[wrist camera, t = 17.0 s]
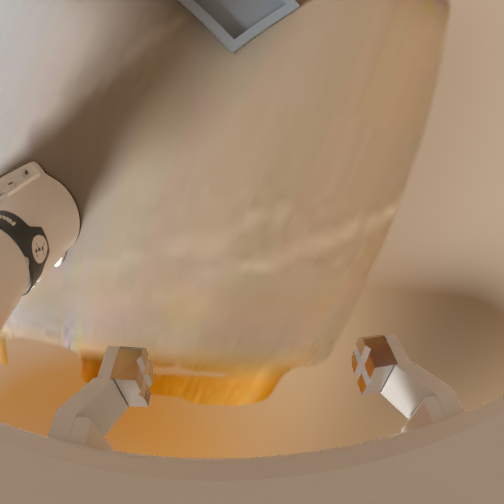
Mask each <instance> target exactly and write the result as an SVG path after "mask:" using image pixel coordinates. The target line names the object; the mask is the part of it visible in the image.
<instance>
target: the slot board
mask: <svg viewBox="0 0 504 504" xmlns="http://www.w3.org/2000/svg"><path fill="white" fill-rule="evenodd" d="M177 1H179V2H180V3H181V4H182V5H183V6H184V7H185V8H186V9H187V10H188V11H190V12H191V13H192V14H193V15H194V16H195V17H196V18H197V19H198V20H199V21H200V22H201V23H202V24H203V25H204V26H205V27H206V28H207V29H208V30H209V31H210V32H211V33H212V34H213V35H214V36H215V37H216V38H217V39H218V40H219V41H220V42H221V43H222V44H223V45H224V46H225V47H226V48H227V49H228V50H229V51H230V52H231V53H232V54H234V53H235V52H237V51H238V50H239V49H241V48H242V47H243V46H245V45H246V44H247V43H249V42H250V41H251V40H253V39H254V38H256V37H257V36H258V35H260V34H261V33H263V32H264V31H266V30H267V29H268V28H270V27H271V26H273V25H274V24H276V23H277V22H279V21H280V20H282V19H283V18H285V17H286V16H288V15H290V14H291V13H293V12H294V11H296V10H297V9H298V8H299V7H300V5H299V4H298V3H297V2H296V1H295V0H177Z"/></svg>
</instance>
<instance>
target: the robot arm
mask: <svg viewBox="0 0 504 504" xmlns="http://www.w3.org/2000/svg"><path fill="white" fill-rule="evenodd" d="M27 171H28V173H27ZM79 229H80V219H79V213H78V209H77V206H76V204H75V202H74V200H73V198H72V196H71V194H70V193H69V192H68V190H67V189H66V188H65V187H64V186H63V185H62V184H61V183H60V182H58V181H57V180H55V179H54V178H52V177H50V176H48V175H47V174H46V173H45V172H44V171H43V170H42V168H41V167H40V166H39V165H38V164H37V163H36V162H34V161H32V162H29V163H27V164H25V165H23V166H21V167H19V168H18V169H16V170H14V171H12V172H10V173H8V174H6V175H5V176H3V177H1V178H0V333H1V331H2V329H3V327H4V325H5V323H6V321H7V320H8V318H9V316H10V315H11V313H12V311H13V310H14V308H15V307H16V305H17V304H18V302H19V301H20V299H21V298H22V296H24V295H26V294H27V293H28V292H29V291H30V290H31V289H32V288H33V287H34V286H35V284H36V282H39V281H40V280H41V279H42V278H43V277H44V276H45V275H46V274H47V273H48V272H49V271H50V270H51V269H52V268H53V266H56V267H58V266H60V265H61V263H62V262H63V260H64V257H65V253H66V252H67V250H68V249H69V248H71V247H72V245H73V244H74V243H75V241H76V239H77V237H78V234H79ZM356 345H357V349H356V350H355V351H354V352H353V356H352V367H353V371H354V374H356V375H357V376H358V377H359V380H358V386H359V388H360V391H361V394H362V395H366V394H372V393H378V392H381V394H382V395H383V396H384V397H386V399H388V400H389V401H390V402H391V403H392V404H393V405H394V406H395V407H396V408H397V409H398V410H399V411H401V412H402V413H403V414H404V415H405V416H406V417H407V418H408V419H409V420H408V421H407V422H406V424H405V425H404V426H403V428H402V430H401V431H402V433H399V434H395V435H392V436H388V437H384V438H380V439H376V440H372V441H367V442H363V443H358V444H354V445H348V446H343V447H338V448H332V449H327V450H320V451H313V452H306V453H298V454H289V455H278V456H267V457H251V458H179V457H164V456H151V455H142V454H134V453H126V452H119V451H113V447H112V445H111V444H110V443H109V442H108V441H107V440H106V439H105V438H104V436H105V435H106V433H107V432H108V431H109V430H110V429H111V427H112V426H113V425H114V424H115V422H116V421H117V420H118V419H119V418H120V417H121V415H122V414H123V413H124V412H125V411H126V409H127V408H128V406H139V407H148V406H149V401H150V395H151V393H150V390H149V387H150V386H151V385H152V383H153V366H152V363H151V361H150V360H148V359H147V358H148V352H147V349H146V348H137V347H122V346H109V347H108V348H107V349H106V352H105V355H104V358H103V361H102V365H101V368H100V371H99V374H98V377H97V378H93V379H92V380H91V381H90V382H89V383H87V384H86V385H85V386H84V387H83V388H82V389H81V390H79V391H78V392H77V393H76V394H75V395H74V396H73V397H71V398H70V399H69V400H68V401H67V402H66V403H65V404H63V405H62V406H61V407H60V408H59V409H58V410H57V411H56V413H55V416H54V420H53V423H52V426H51V429H50V432H49V436H48V437H46V436H42V435H39V434H35V433H32V432H29V431H25V430H22V429H19V428H16V427H13V426H10V425H7V424H4V423H2V422H0V504H504V394H503V395H500V396H498V397H496V398H494V399H492V400H490V401H488V402H485V403H483V404H481V405H479V406H476V407H474V408H472V409H469V410H467V411H464V410H463V408H462V406H461V404H460V402H459V400H458V398H457V396H456V394H455V392H454V390H453V388H451V387H450V386H448V385H446V384H445V383H444V382H442V381H441V380H439V379H438V378H436V377H435V376H433V375H432V374H430V373H429V372H428V371H426V370H424V369H423V368H421V367H420V366H418V365H417V364H416V363H414V362H413V361H412V362H409V360H408V358H407V356H406V354H405V352H404V350H403V348H402V346H401V344H400V342H399V340H398V338H397V337H396V335H395V334H394V333H389V334H383V335H375V336H368V337H361V338H359V339H358V341H357V344H356Z"/></svg>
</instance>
